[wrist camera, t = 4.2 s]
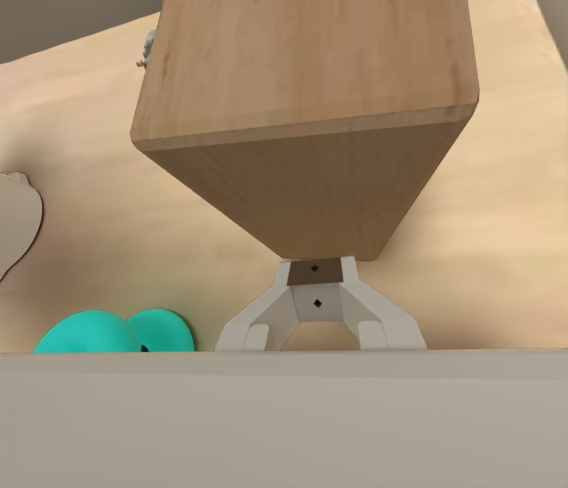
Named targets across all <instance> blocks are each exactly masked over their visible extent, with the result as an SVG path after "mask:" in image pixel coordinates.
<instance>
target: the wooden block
mask: <svg viewBox="0 0 568 488" xmlns="http://www.w3.org/2000/svg"><path fill="white" fill-rule="evenodd" d="M479 90H480V89H479V81H478V74H477V67H476V59H475V52H474V44H473V37H472V29H471V22H470V14H469V7H468V0H164V2H163V5H162V9H161V13H160V17H159V21H158V25H157V29H156V33H155V36H154V40H153V44H152V48H151V52H150V56H149V60H148V64H147V68H146V71H145V75H144V79H143V83H142V87H141V91H140V95H139V99H138V103H137V107H136V110H135V114H134V118H133V122H132V126H131V130H130V136H131V141H132V143H133V144H134V146H135V147H136V148H137V149H138V150H139V151H141V152H142V153H143V154H145V155H146V156H147V157H149V158H150V159H151V160H153V161H154V162H155V163H157V164H158V165H159V166H161V167H162V168H163V169H165V170H166V171H167V172H169V173H170V174H171V175H173V176H174V177H175V178H176V179H178V180H179V181H180V182H182V183H183V184H184V185H186V186H187V187H188V188H190V189H191V190H192V191H194V192H195V193H196V194H198V195H199V196H200V197H202V198H203V199H204V200H206V201H207V202H208V203H210V204H211V205H212V206H214V207H215V208H216V209H218V210H219V211H220V212H222V213H223V214H224V215H226V216H227V217H228V218H230V219H231V220H232V221H234V222H235V223H236V224H238V225H239V226H240V227H242V228H243V229H244V230H246V231H247V232H248V233H250V234H251V235H252V236H254V237H255V238H256V239H258V240H259V241H260V242H262V243H263V244H264V245H266V246H267V247H268V248H269V249H271V250H272V251H273V252H275V253H276V254H277V255H279V256H280V257H282V258H306V259H328V258H337V257H340V259H341V257H344V256H352V255H353V256H354V257H355V260H368V261H372V260H375V259H376V257H377V256H378V254H379V253H380V251H381V250H382V248H383V247H384V246H385V244H386V243H387V241H388V240H389V238H390V237H391V235H392V234H393V232H394V231H395V229H396V228H397V226H398V225H399V223H400V222H401V220H402V219H403V217H404V216H405V214H406V213H407V212H408V210H409V209H410V207H411V206H412V204H413V203H414V201H415V200H416V198H417V197H418V195H419V194H420V192H421V191H422V189H423V188H424V186H425V185H426V183H427V182H428V181H429V179H430V178H431V176H432V175H433V173H434V172H435V170H436V169H437V167H438V166H439V164H440V163H441V161H442V160H443V158H444V157H445V155H446V154H447V152H448V151H449V149H450V148H451V147H452V145H453V144H454V142H455V141H456V139H457V138H458V136H459V135H460V133H461V132H462V130H463V129H464V127H465V126H466V124H467V123H468V121H469V120H470V118H471V117H472V116H473V114H474V111H475V109H476V107H477V104H478V102H479Z"/></svg>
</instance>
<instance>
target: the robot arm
mask: <svg viewBox="0 0 568 488" xmlns="http://www.w3.org/2000/svg"><path fill="white" fill-rule="evenodd" d="M41 216H42V202H41V198H40V196H39V194H38V192H37V191H36V190H35V189H34V188H33V187H31V186H30V185H29V183H28V180H27V177H26V175H25V174H22V173H19V172H13V173H11V174H9V175H4V174H1V173H0V280H1V278H2V277H3V275H4V274H5V272H6V271H7V270H8V269H9V268H10V267H11V266H12V265H13V264H14V263H15V262H16V261H18V260H19V259H20V258H21V257H22V255H23V254H24V253H25V252H26V251H27V249H28V248H29V246H30V245H31V243H32V241H33V240H34V238H35V236H36V233H37V231H38V228H39V225H40V221H41ZM312 321H344V323H345V324H346V325H347V327H348V328H349V329H350V330H351V332H352V333H353V334H354V335H355V337H356V338H357V339H358V340H359V350H307V351H280V349H281V348H282V347H283V345H284V344H285V342H286V341H287V340H288V338H289V337H290V336H291V334H292V333H293V331H294V330H295V329H296V327H297V326H298V325H299V322H312ZM0 488H568V348H534V349H439V350H428V348H427V345H426V343H425V341H424V338H423V336H422V333H421V331H420V329H419V326H418V324H417V322H416V319H415V318H414V317H413V316H411V315H410V314H408V313H407V312H406V311H404V310H403V309H401V308H400V307H399V306H397V305H396V304H395V303H393V302H392V301H390V300H389V299H388V298H386V297H385V296H383V295H382V294H381V293H379V292H378V291H377V290H375V289H374V288H372V287H371V286H370V285H368V284H367V283H365V282H364V281H359V276H358V271H357V267H356V262H355V257H354V256H353V255H352V256H344V257H341V259H340V257H337V258H328V259H319V260H301V261H292V262H291V261H288V262H280V263H279V264H278V268H277V272H276V275H275V279H274V283H273V287H270V288H268V289H267V290H266V291H264V292H263V293H262V294H261V295H260V296H258V297H257V298H256V299H255V300H254V301H252V302H251V303H250V304H249V305H248V306H246V307H245V308H244V309H243V310H242V311H240V312H239V313H238V314H237V315H236V316H235V317H233V318H232V319H231V320H230V321H229V322H227V323H226V324H225V326H224V328H223V330H222V333H221V335H220V337H219V340H218V342H217V344H216V347H215V349H214V351H199V352H81V353H0Z"/></svg>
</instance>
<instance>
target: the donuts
mask: <svg viewBox="0 0 568 488" xmlns="http://www.w3.org/2000/svg"><path fill="white" fill-rule="evenodd" d="M143 345H144V346H145V347H146V348H147V349H148V351H149V352H194V343H193V339H192V335H191V333H190V331H189V329H188V327H187V325H186V324H185V322H184V321H183V320H182V319H181V318H180V317H179V316H177V315H176V314H174V313H173V312H170V311H168V310H164V309H148V310H145V311H142V312H139V313H137V314H135V315H134V316H132V317H131V318H129V319H128V320H127V321H125V320H124V319H122V318H121V317H119V316H117V315H116V314H113V313H111V312H107V311H102V310H87V311H83V312H79V313H76V314H73V315H71V316H69V317H67V318H65V319H63V320H62V321H60V322H59V323H57V324H56V325H55V326H54V327H52V328H51V329H50V330H49V331H48V332H47V333H46V335H45V336H44V337H43V338H42V339H41V341H40V342H39V343H38V345H37V346H36V348H35V350H34V351H33V353H81V352H142V351H141V348H142V346H143Z"/></svg>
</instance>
